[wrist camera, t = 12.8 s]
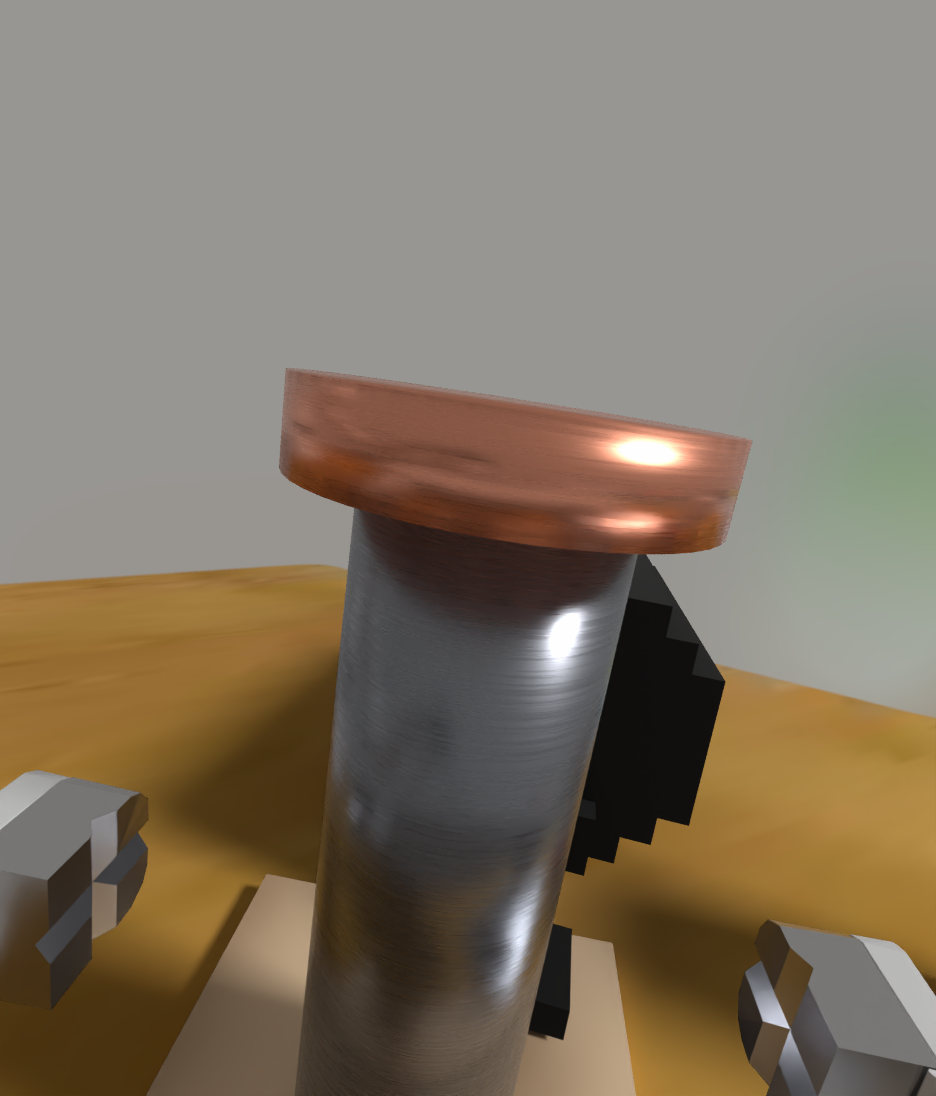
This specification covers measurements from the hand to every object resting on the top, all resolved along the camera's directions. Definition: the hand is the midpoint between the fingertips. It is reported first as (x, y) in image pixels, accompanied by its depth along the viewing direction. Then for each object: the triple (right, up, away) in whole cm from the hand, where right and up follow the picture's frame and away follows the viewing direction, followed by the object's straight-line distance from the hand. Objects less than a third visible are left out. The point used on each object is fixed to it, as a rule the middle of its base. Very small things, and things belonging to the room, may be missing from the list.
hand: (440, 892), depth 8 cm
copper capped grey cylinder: (-1, -7, +4) cm, 8 cm away
